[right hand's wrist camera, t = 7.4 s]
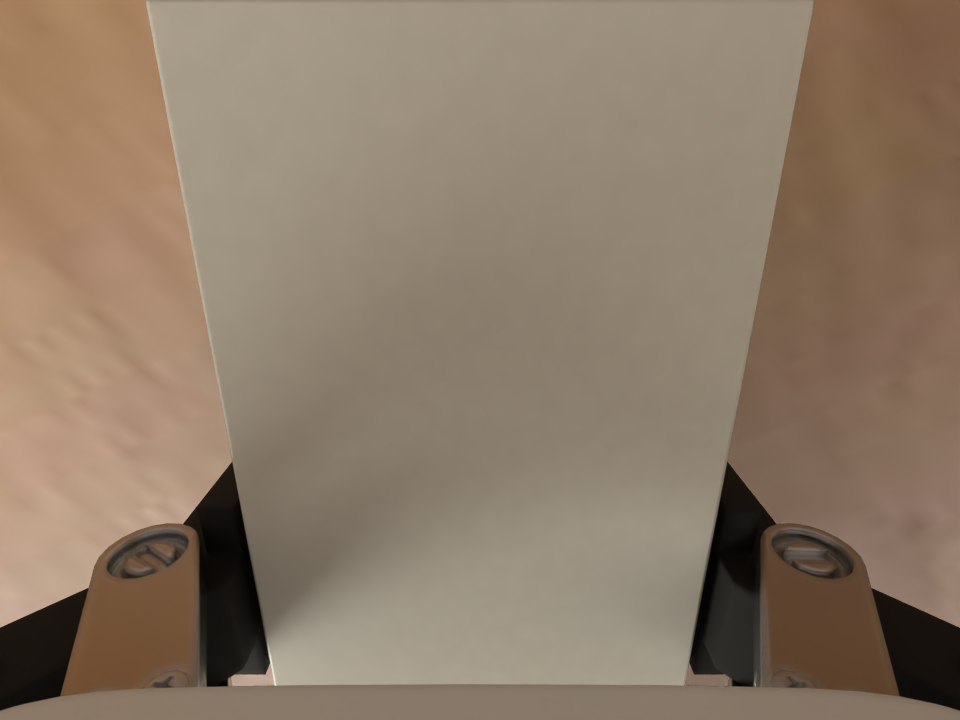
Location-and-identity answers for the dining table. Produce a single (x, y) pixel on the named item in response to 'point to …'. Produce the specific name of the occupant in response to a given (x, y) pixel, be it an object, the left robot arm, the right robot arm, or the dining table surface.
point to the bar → (479, 315)
